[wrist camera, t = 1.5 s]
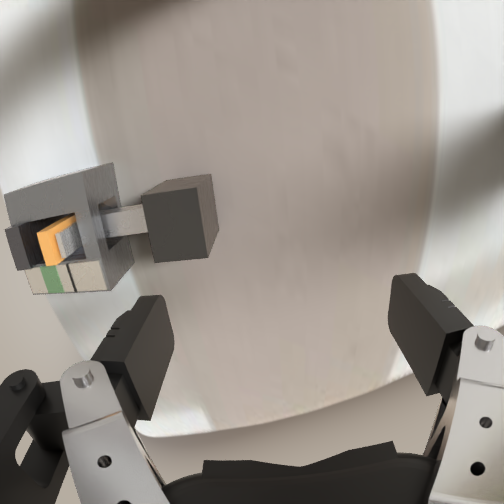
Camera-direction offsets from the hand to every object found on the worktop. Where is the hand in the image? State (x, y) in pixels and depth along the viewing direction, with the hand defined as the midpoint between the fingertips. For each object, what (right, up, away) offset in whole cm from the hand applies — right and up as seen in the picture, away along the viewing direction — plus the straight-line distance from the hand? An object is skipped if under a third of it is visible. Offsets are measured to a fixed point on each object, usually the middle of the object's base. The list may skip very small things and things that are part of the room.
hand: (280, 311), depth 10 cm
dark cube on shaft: (-10, +6, +17) cm, 21 cm away
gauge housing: (-18, +5, +18) cm, 26 cm away
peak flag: (-17, +5, +17) cm, 24 cm away
